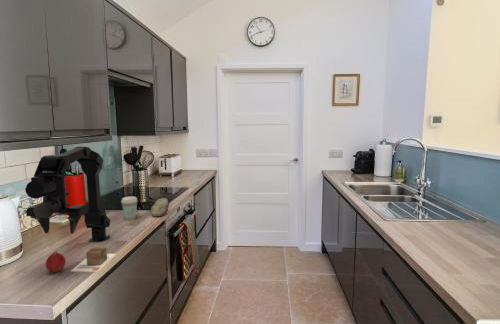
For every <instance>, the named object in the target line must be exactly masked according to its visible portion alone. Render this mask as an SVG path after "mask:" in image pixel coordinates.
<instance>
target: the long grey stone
mask: <svg viewBox="0 0 500 324" xmlns="http://www.w3.org/2000/svg"><path fill="white" fill-rule="evenodd" d="M168 205H169V199H168V198H166V197H162V198H159V199H157V200H156V201H155V202H154V204H153V205H152V206H151V207H150V214H151V216H152V217H162V216H163V215H165V214H166V212H167V210H168V207H169V206H168Z"/></svg>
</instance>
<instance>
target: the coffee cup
mask: <svg viewBox="0 0 500 324" xmlns="http://www.w3.org/2000/svg"><path fill="white" fill-rule="evenodd" d="M120 203H121V206H122V212H123V217H124V221H133V220H135V219H137V207H138V198H137V197H136V196H133V195H132V196H125V197H122V198H121V201H120Z"/></svg>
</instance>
